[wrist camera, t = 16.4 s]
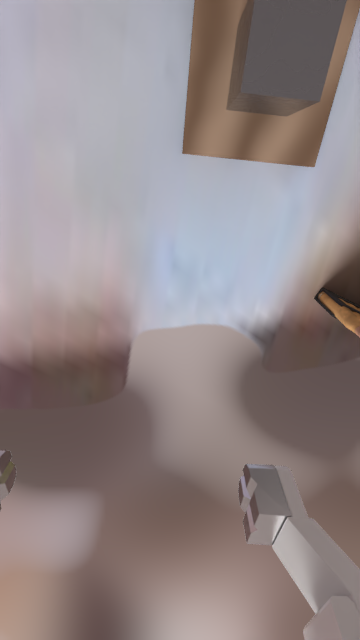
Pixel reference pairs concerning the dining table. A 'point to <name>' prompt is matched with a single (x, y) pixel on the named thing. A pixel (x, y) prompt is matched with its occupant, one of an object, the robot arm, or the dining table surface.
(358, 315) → the brown slatted box
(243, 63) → the grey square block
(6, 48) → the dining table surface
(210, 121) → the base plate
